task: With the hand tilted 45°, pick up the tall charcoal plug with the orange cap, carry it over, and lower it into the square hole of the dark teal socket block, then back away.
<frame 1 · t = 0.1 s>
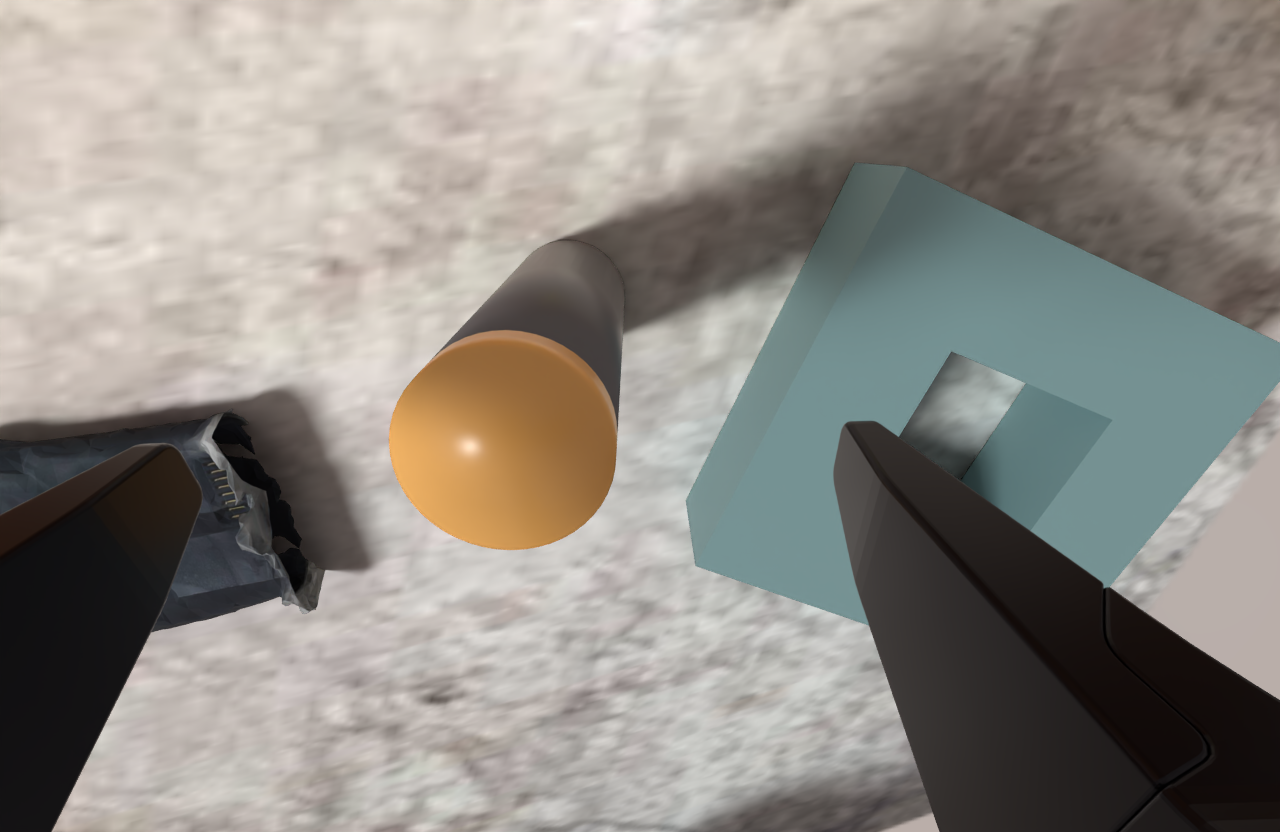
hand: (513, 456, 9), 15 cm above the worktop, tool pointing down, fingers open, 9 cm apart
plug: (569, 296, 24), on the worktop
electronic device: (131, 513, 28), on the worktop
socket: (922, 414, 25), on the worktop
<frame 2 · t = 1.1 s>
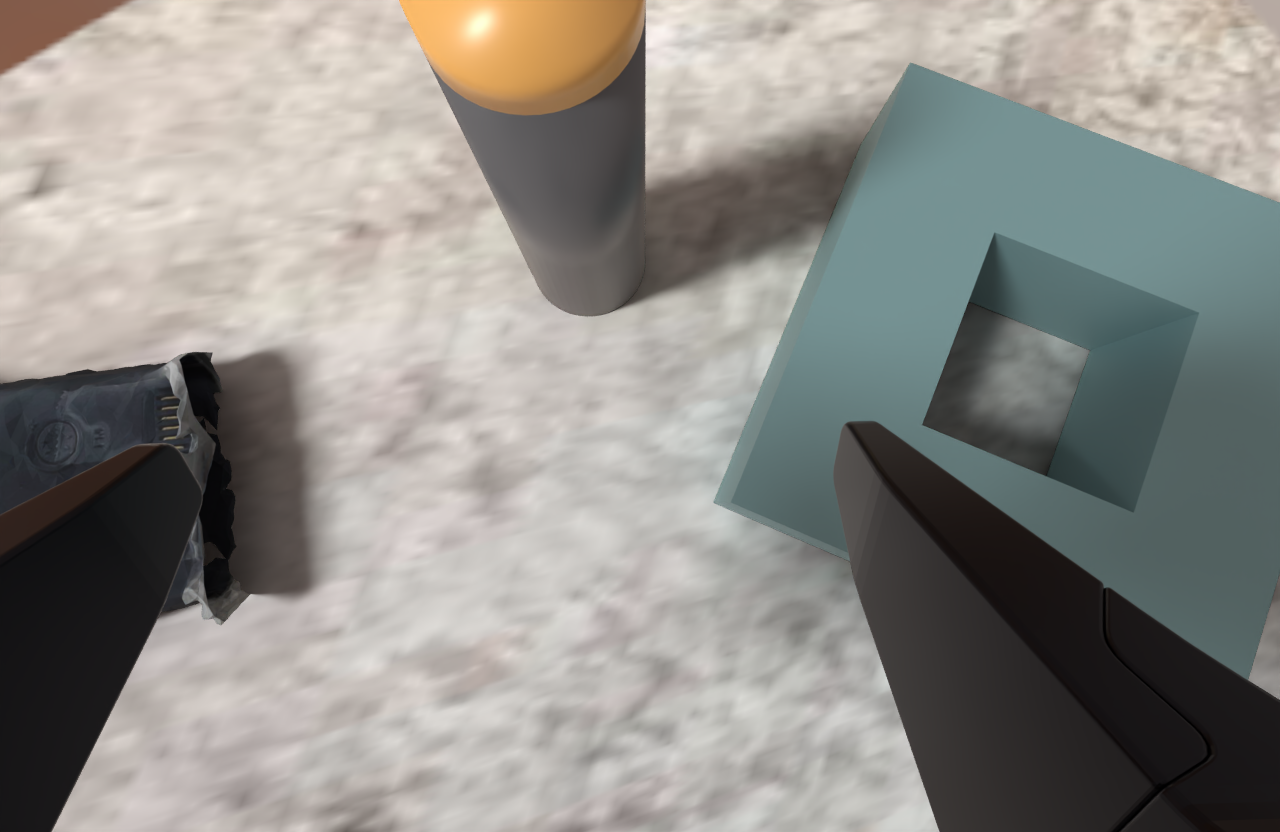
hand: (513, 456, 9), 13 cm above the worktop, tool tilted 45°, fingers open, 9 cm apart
plug: (588, 261, 23), on the worktop
electronic device: (42, 511, 23), on the worktop
socket: (979, 395, 23), on the worktop
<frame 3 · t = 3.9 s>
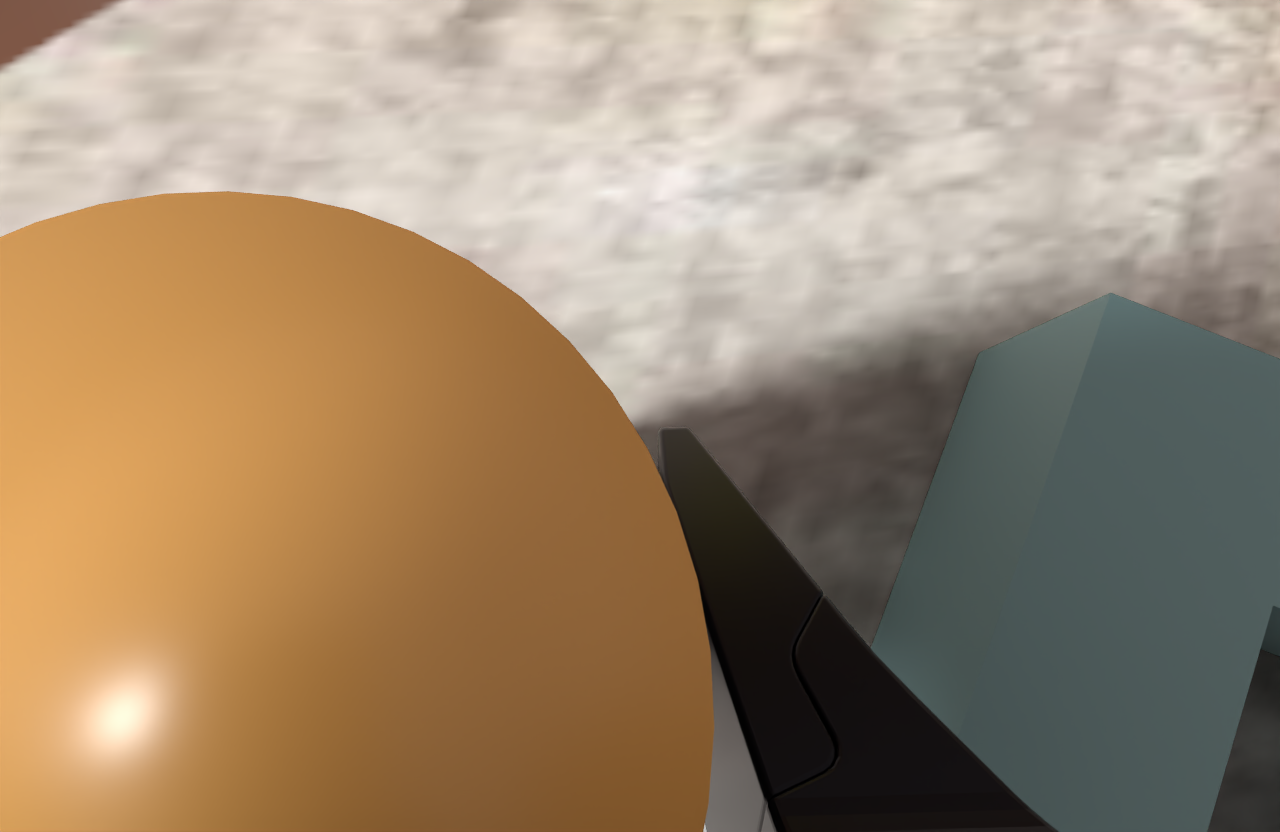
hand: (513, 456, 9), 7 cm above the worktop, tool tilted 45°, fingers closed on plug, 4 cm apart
plug: (569, 537, 15), on the worktop, touching gripper
socket: (1175, 757, 15), on the worktop
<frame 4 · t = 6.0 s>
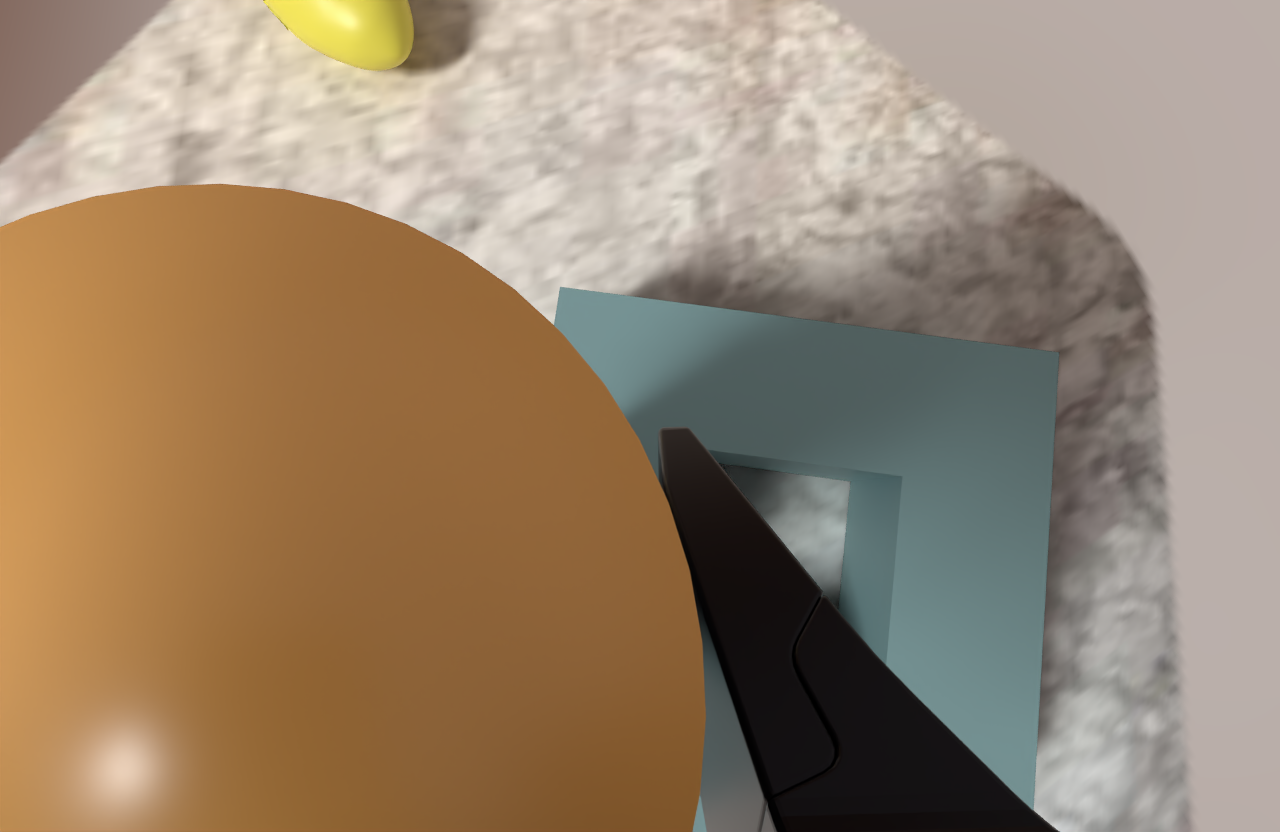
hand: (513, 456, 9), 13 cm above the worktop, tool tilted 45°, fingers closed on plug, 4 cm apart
lemon: (351, 24, 25), on the worktop
plug: (568, 535, 15), point 7 cm above the worktop, touching gripper
socket: (752, 558, 22), on the worktop
when the fingers open (8 cm above the worktop, at t = 8.0 s): plug drops 2 cm, resting in socket.
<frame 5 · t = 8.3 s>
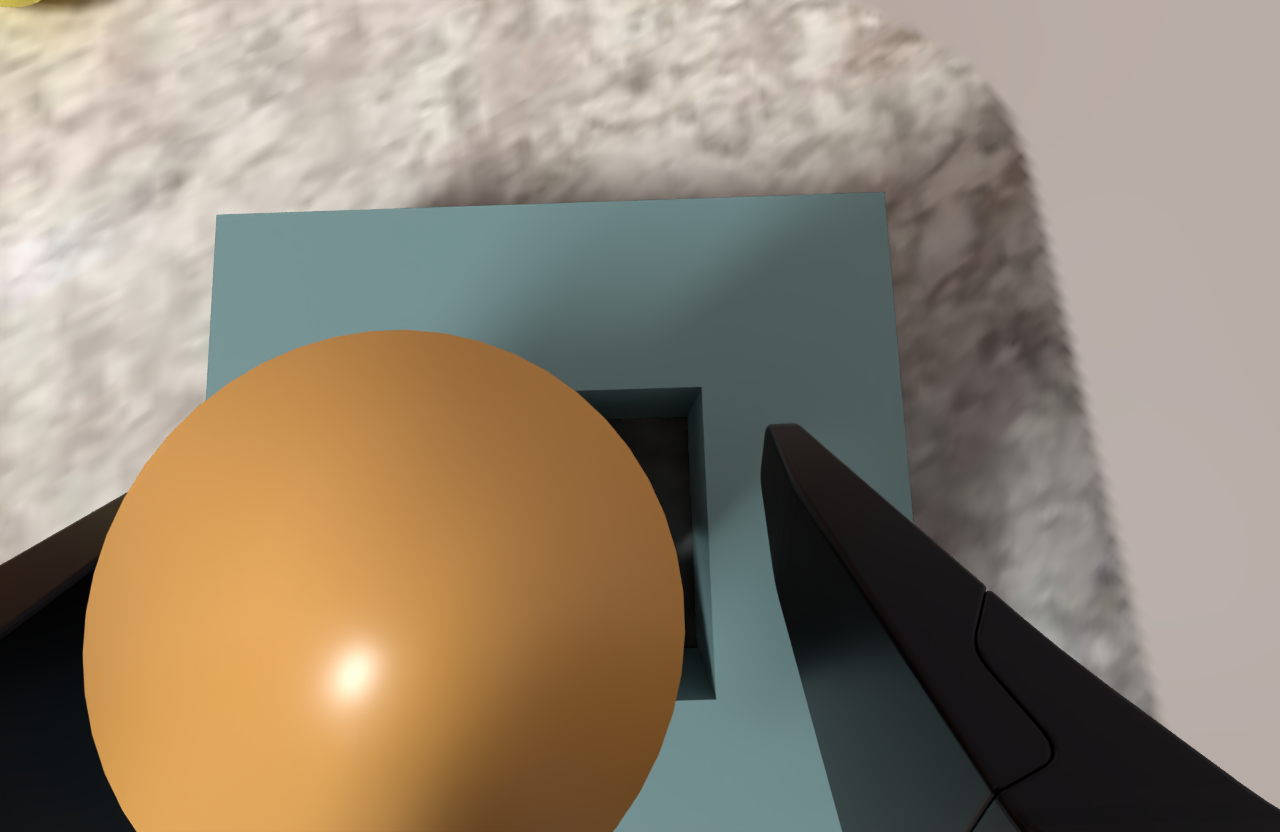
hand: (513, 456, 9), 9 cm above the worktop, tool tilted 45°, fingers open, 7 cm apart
plug: (578, 534, 17), resting in socket
socket: (578, 533, 17), on the worktop
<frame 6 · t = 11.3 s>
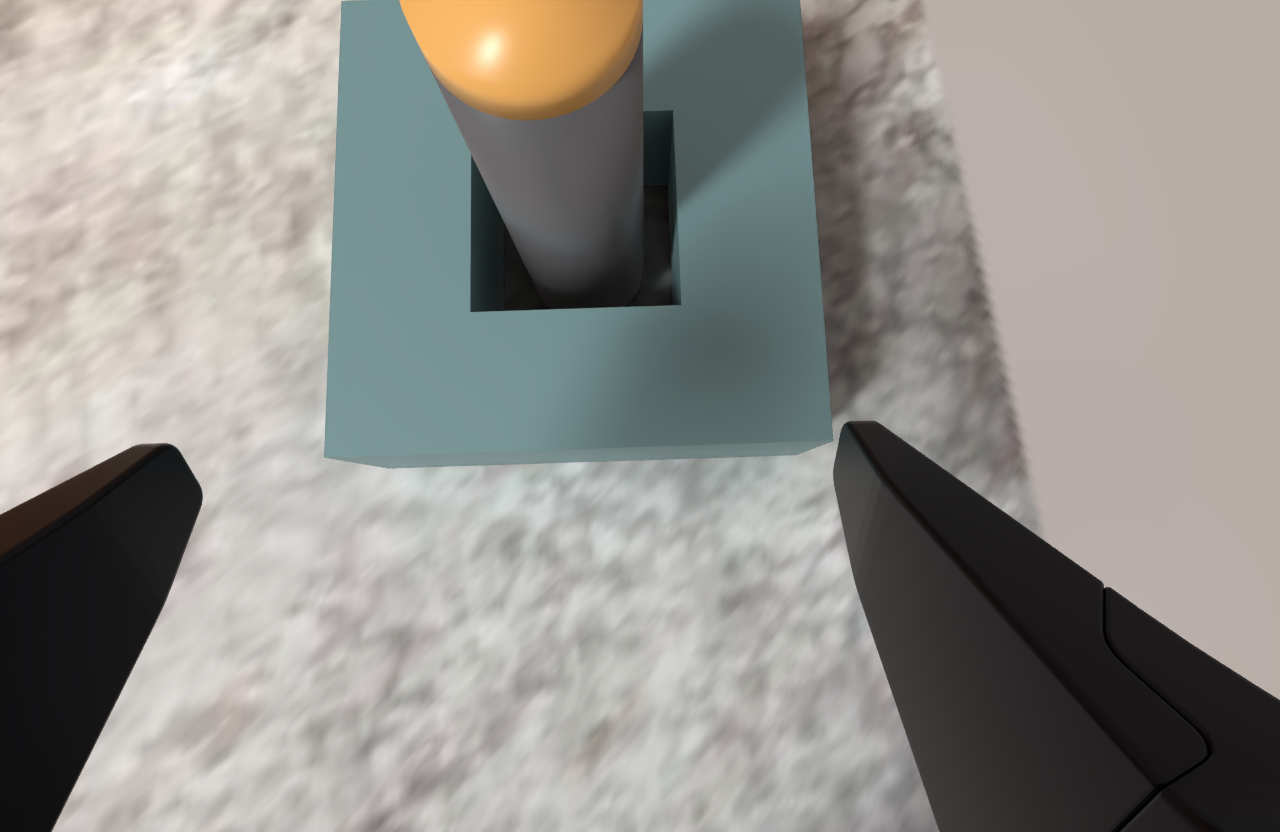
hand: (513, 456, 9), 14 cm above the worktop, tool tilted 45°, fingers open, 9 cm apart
plug: (587, 267, 23), resting in socket
socket: (587, 266, 23), on the worktop
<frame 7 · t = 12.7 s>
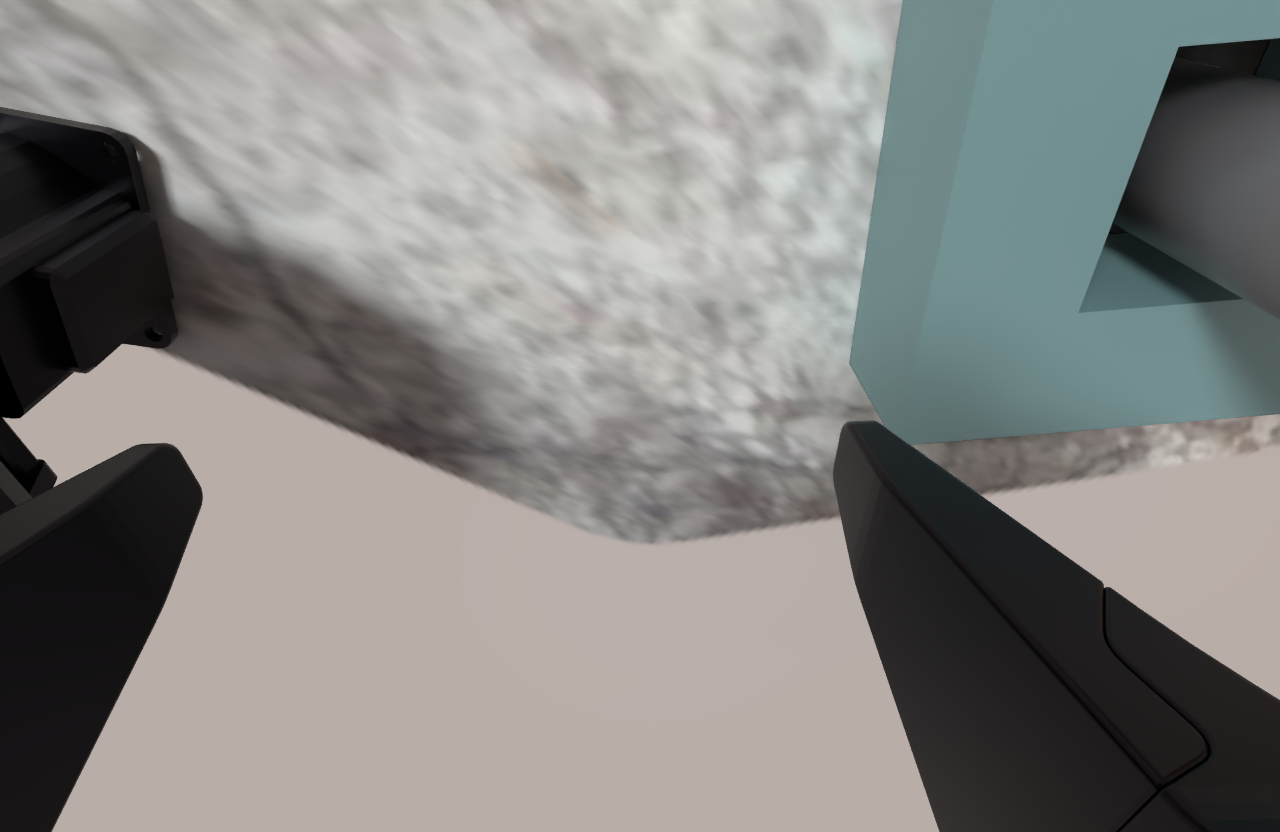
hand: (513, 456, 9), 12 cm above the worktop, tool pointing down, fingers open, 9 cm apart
plug: (1125, 134, 19), resting in socket
socket: (1126, 134, 19), on the worktop
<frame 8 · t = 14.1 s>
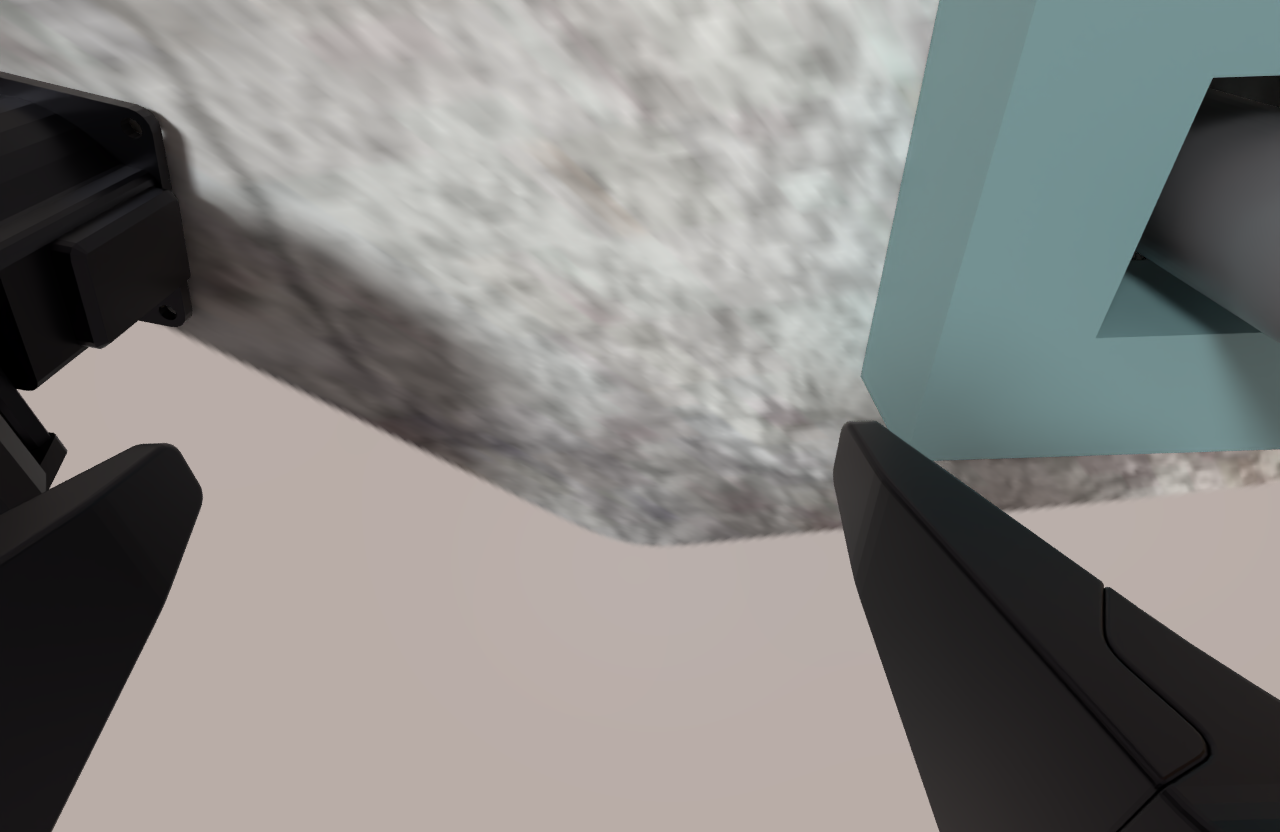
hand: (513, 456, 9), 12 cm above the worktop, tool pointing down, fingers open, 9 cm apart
plug: (1150, 161, 18), resting in socket
socket: (1152, 161, 18), on the worktop
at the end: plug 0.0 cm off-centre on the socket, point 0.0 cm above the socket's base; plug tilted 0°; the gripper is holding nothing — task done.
